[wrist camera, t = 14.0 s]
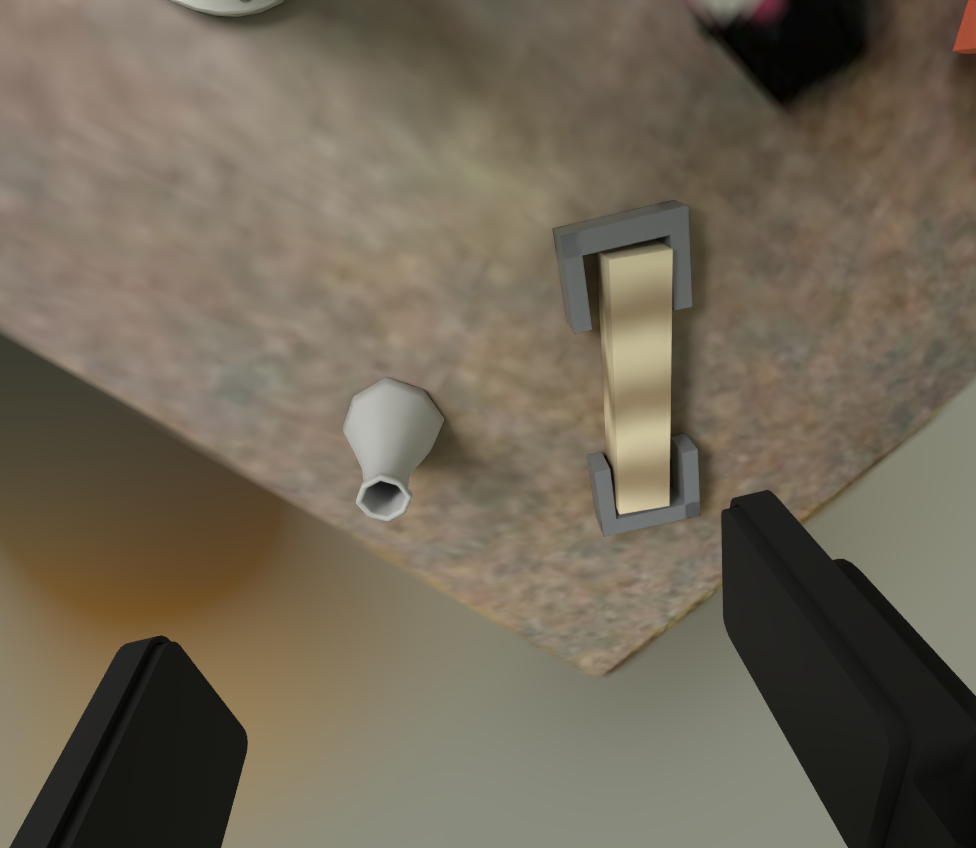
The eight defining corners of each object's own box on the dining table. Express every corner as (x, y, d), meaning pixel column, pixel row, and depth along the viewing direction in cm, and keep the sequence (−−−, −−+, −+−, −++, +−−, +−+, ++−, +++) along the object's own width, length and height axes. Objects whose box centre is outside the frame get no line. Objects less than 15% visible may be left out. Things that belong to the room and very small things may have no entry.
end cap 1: (678, 296, 40) (692, 306, 38) (566, 322, 40) (574, 334, 38) (673, 200, 37) (688, 205, 35) (552, 228, 37) (560, 235, 35)
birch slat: (595, 248, 39) (609, 259, 35) (653, 238, 39) (672, 249, 35) (607, 488, 48) (619, 514, 45) (654, 480, 48) (669, 505, 45)
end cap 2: (586, 455, 46) (594, 472, 44) (684, 433, 46) (697, 449, 43) (596, 517, 49) (603, 536, 47) (688, 497, 49) (700, 515, 47)
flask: (461, 415, 43) (468, 491, 35) (403, 478, 46) (396, 564, 37) (383, 359, 41) (369, 425, 32) (325, 428, 43) (297, 509, 34)
